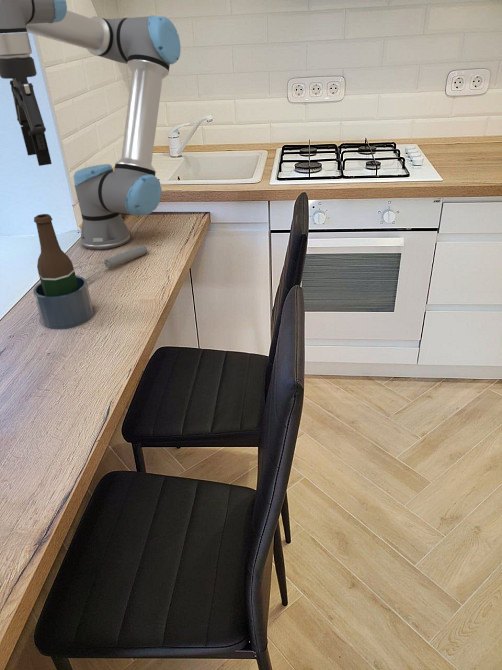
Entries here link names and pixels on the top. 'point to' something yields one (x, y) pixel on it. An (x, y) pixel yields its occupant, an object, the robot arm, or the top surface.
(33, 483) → the top surface
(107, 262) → the kitchen whisk
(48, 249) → the beer bottle
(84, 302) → the metal cup
